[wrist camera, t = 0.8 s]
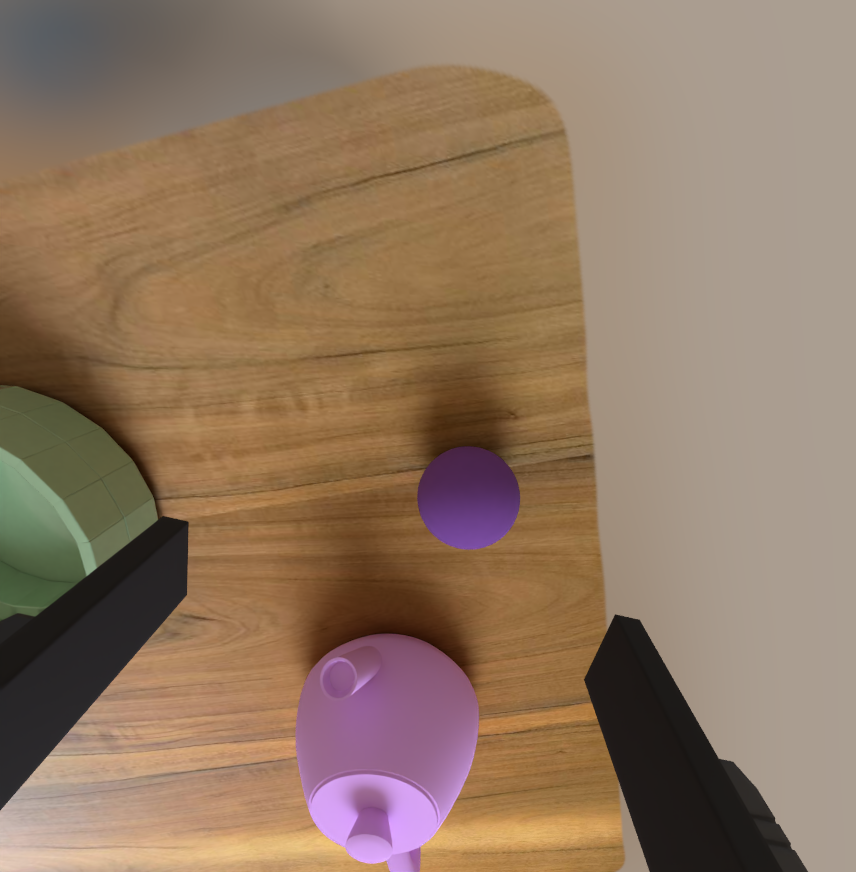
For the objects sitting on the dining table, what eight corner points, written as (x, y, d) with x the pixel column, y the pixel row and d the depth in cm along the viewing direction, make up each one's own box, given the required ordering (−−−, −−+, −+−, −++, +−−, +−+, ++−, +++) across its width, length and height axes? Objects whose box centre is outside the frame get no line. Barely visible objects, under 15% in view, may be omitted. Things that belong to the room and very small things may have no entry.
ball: (460, 414, 26) (462, 449, 20) (531, 469, 27) (552, 518, 21) (403, 480, 28) (390, 530, 22) (471, 530, 29) (476, 590, 23)
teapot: (450, 566, 30) (449, 708, 20) (493, 755, 36) (509, 934, 26) (272, 591, 31) (187, 734, 21) (343, 767, 38) (304, 941, 28)
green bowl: (-41, 326, 26) (-179, 336, 20) (207, 488, 29) (146, 537, 23) (-106, 515, 31) (-230, 566, 25) (109, 636, 34) (40, 706, 28)
